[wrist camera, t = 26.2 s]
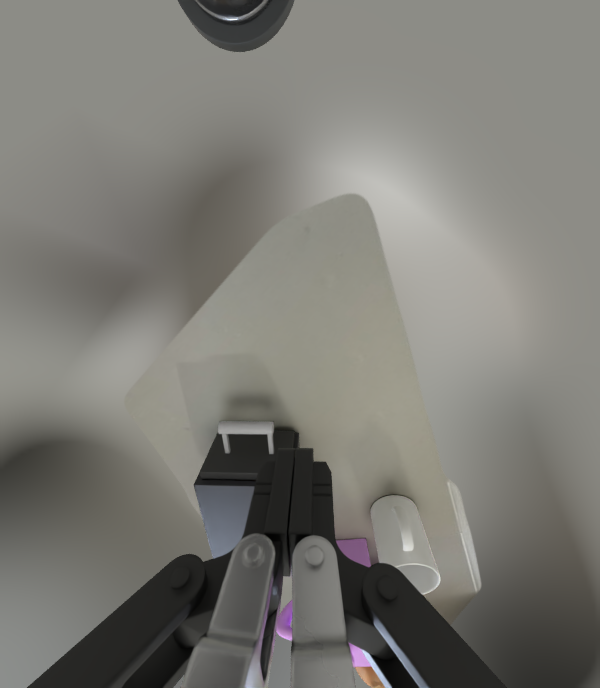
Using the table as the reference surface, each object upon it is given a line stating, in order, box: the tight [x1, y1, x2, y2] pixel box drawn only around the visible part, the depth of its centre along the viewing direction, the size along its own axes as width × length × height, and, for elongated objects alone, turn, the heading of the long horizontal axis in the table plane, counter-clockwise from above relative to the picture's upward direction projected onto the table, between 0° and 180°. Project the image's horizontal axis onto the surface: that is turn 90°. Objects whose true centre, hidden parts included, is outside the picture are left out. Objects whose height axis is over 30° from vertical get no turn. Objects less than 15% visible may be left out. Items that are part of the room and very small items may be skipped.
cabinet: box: [194, 433, 299, 559], centre depth 43 cm, size 16×13×10 cm
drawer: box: [200, 421, 294, 481], centre depth 41 cm, size 20×11×8 cm, turn 2°
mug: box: [370, 495, 441, 595], centre depth 44 cm, size 12×8×10 cm, turn 10°
